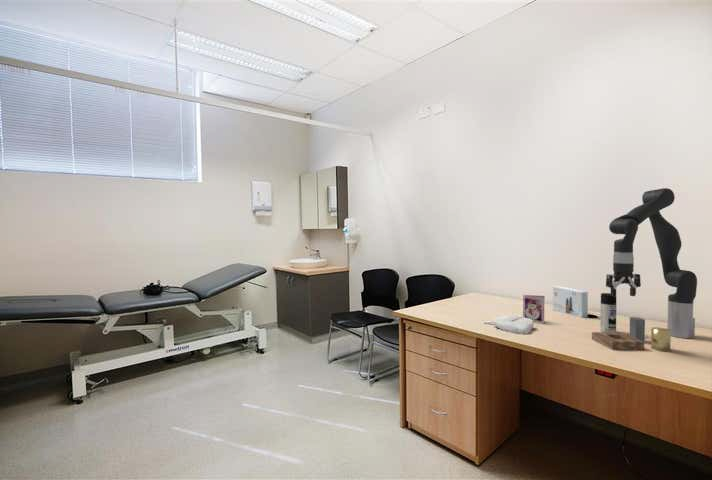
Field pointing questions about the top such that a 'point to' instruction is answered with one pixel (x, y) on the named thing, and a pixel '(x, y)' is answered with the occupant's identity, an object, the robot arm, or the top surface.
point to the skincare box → (570, 301)
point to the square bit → (637, 328)
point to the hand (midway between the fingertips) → (623, 296)
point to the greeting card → (534, 308)
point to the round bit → (661, 339)
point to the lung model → (513, 324)
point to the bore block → (617, 341)
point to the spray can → (608, 312)
